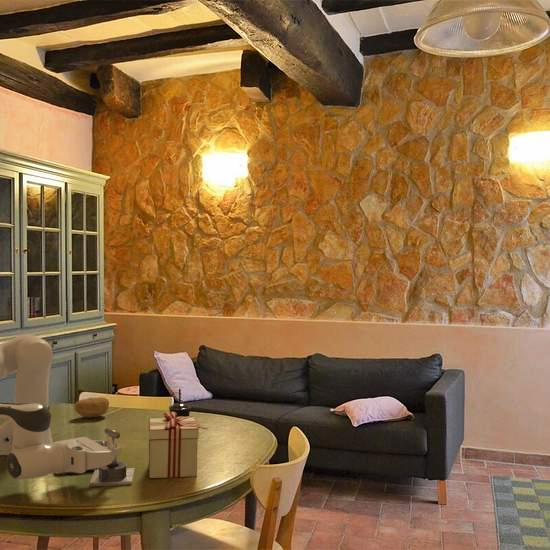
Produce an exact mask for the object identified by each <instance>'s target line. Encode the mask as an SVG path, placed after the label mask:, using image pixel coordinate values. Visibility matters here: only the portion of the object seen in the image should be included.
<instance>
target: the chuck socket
mask: <svg viewBox="0 0 550 550" xmlns="http://www.w3.org/2000/svg"><path fill="white" fill-rule="evenodd" d="M135 469H136V468H135V467H128V464H127V463H126V462H124V461H119V460H117V467H108V465H106V466H103V467H99V468H98V470H93V471H94V472H93V474H92V476H91V478H90V482H89V487H107V486H108V487H109V486H126V485H127V486H128V485H130V486H131V485H133V480H134V477H135V476H134V475H135Z"/></svg>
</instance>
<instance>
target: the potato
mask: <svg viewBox="0 0 550 550" xmlns="http://www.w3.org/2000/svg"><path fill="white" fill-rule="evenodd" d="M109 407H110V401H109V399H108V398H107V397H105V396H104V397H103V396H102V397H101V396H99V397H89V398H82V399H79V400H78V401H76V402H75V403H74V406H73V408H74V411H75V412H76V413H77V414H78V415H80V416H81V417H83V418H88V419H90V418H91V419H92V417H94V418H97V417H98V418H99V417H100V416H101V417H102V415H104V414H106V413H107V411H108V410H109Z"/></svg>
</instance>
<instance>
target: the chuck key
mask: <svg viewBox="0 0 550 550" xmlns="http://www.w3.org/2000/svg"><path fill="white" fill-rule="evenodd" d="M104 433H105V434H106V435H107V441H108V446H107V449H110V450H111V449H114V448H115V447H118V444H117V443H118V439H119V438H120V436H121V434H120V432H118V431H116V430H114V429H112V428H110V427H106V428H104ZM117 461H118V455H115V456H113V457H112V463H110V464H109V465H108V467H117Z"/></svg>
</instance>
